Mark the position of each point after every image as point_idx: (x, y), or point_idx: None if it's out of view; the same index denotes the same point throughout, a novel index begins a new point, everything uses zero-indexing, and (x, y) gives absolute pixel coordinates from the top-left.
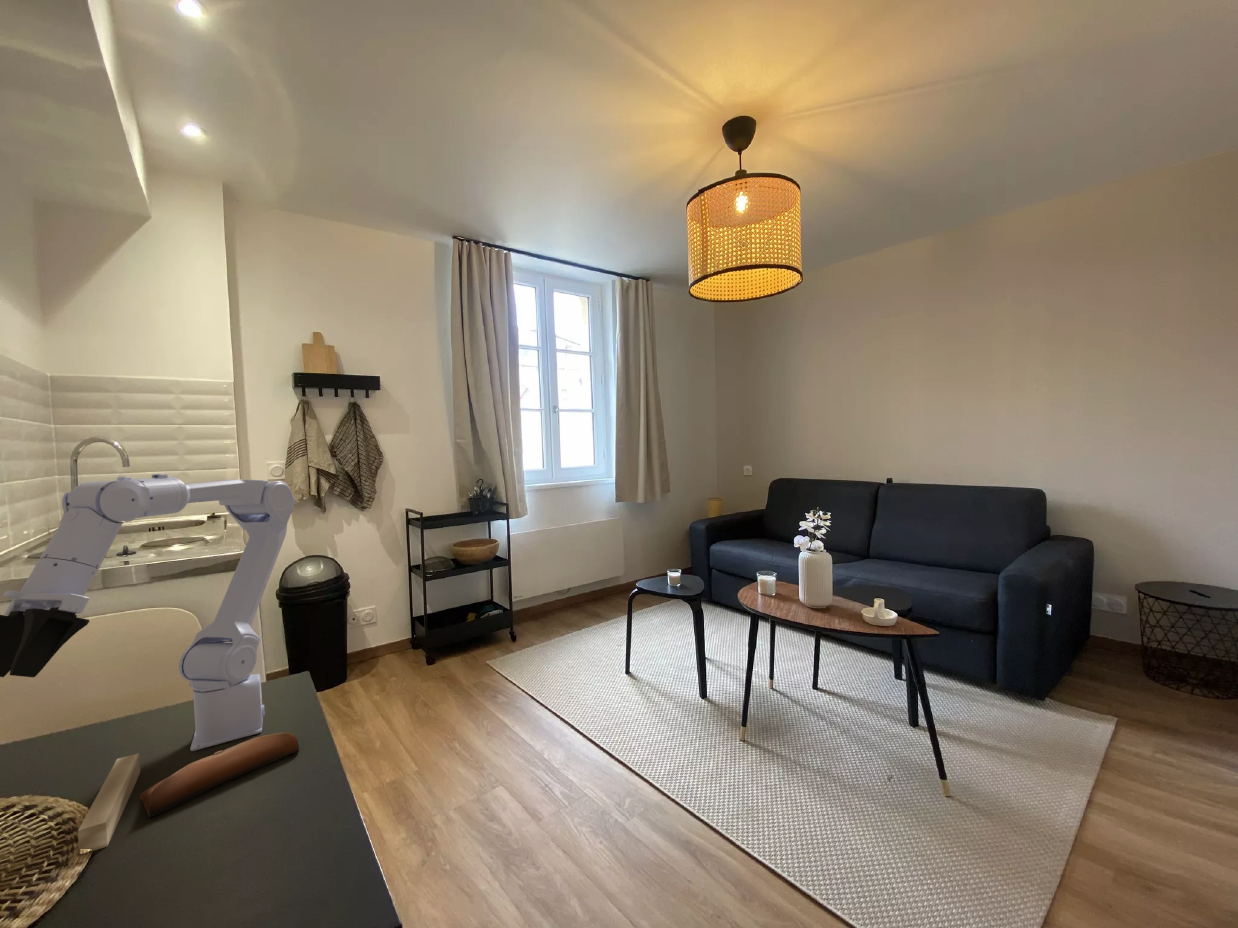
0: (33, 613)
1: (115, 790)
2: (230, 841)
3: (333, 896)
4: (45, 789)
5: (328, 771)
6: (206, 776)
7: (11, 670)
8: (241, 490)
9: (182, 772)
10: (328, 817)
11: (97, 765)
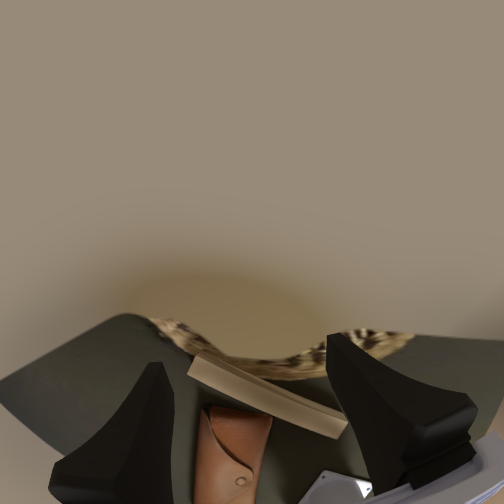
0: (55, 470)
1: (255, 401)
2: (102, 412)
3: (9, 393)
4: (398, 359)
5: None
6: (198, 455)
7: (152, 366)
8: None
9: (214, 447)
10: (72, 450)
11: None
